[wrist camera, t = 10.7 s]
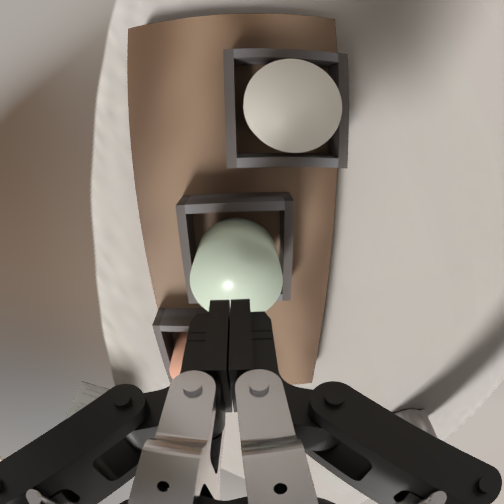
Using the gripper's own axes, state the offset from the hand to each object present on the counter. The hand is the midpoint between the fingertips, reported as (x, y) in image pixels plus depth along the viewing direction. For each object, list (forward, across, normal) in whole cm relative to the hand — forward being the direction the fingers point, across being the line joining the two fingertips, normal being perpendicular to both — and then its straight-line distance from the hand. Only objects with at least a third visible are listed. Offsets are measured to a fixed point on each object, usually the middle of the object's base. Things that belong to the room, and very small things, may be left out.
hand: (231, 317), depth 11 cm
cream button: (+7, -3, -8) cm, 11 cm away
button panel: (+10, 0, 0) cm, 10 cm away
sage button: (+6, 0, 0) cm, 6 cm away
